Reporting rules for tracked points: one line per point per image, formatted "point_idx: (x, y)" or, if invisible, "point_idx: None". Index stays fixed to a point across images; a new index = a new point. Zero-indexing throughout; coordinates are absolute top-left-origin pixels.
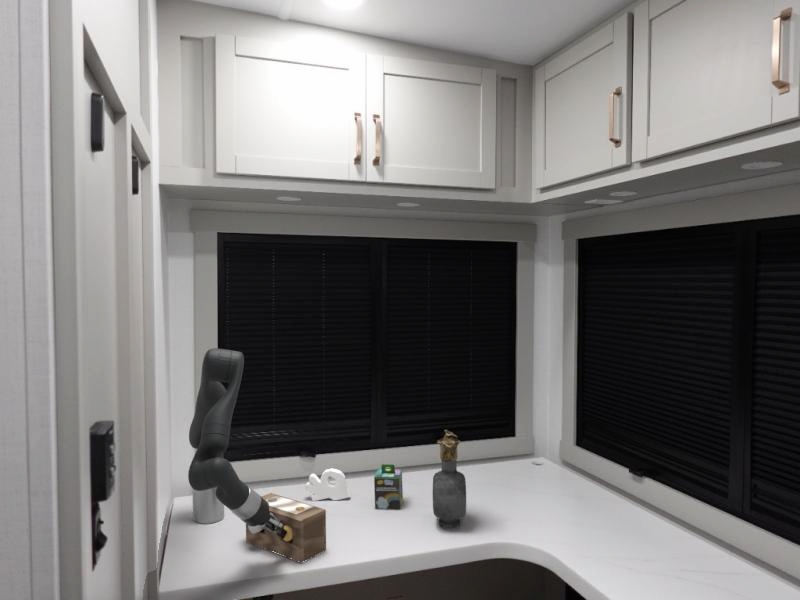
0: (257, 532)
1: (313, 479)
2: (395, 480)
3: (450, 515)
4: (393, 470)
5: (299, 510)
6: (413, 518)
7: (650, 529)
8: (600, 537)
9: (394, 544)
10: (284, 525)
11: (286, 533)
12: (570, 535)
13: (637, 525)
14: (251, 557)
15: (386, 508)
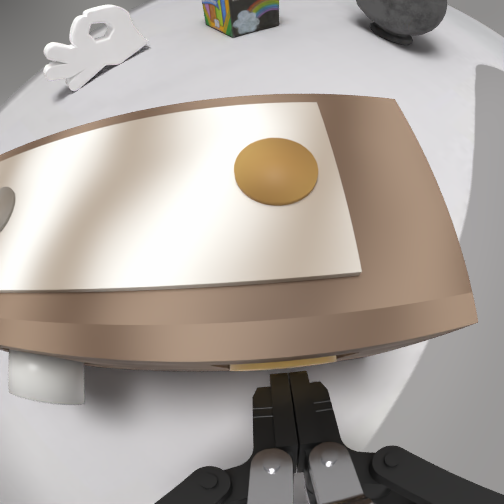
0: None
1: (57, 51)
2: None
3: (430, 29)
4: None
5: (305, 194)
6: (333, 35)
7: (489, 32)
8: (494, 45)
9: (424, 111)
10: (417, 456)
11: (319, 385)
12: (484, 44)
13: (480, 27)
14: (155, 448)
15: (255, 29)
